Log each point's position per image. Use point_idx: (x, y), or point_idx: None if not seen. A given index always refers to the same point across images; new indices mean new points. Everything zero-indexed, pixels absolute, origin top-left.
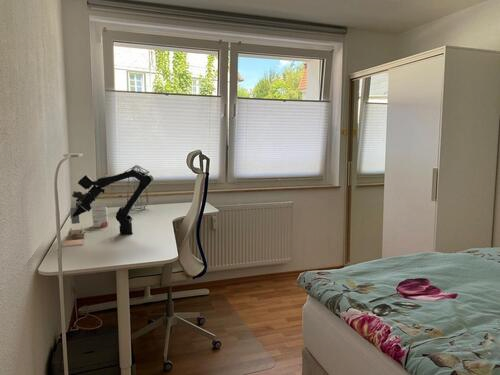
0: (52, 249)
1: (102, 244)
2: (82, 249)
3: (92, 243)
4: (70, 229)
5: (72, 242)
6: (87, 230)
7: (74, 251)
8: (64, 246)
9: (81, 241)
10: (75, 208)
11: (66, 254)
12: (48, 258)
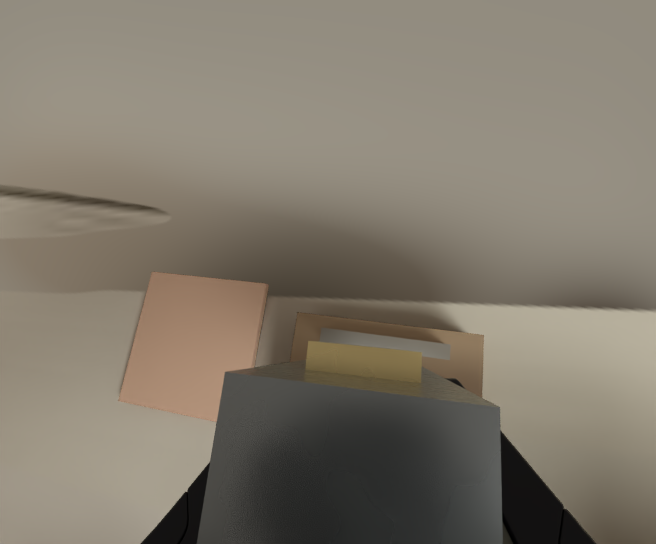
0: (145, 225)
1: (58, 532)
2: (41, 381)
3: (123, 469)
4: (393, 342)
5: (195, 338)
6: (628, 535)
7: (35, 334)
8: (151, 286)
9: (183, 400)
10: (208, 536)
11: (15, 292)
12: (15, 214)
